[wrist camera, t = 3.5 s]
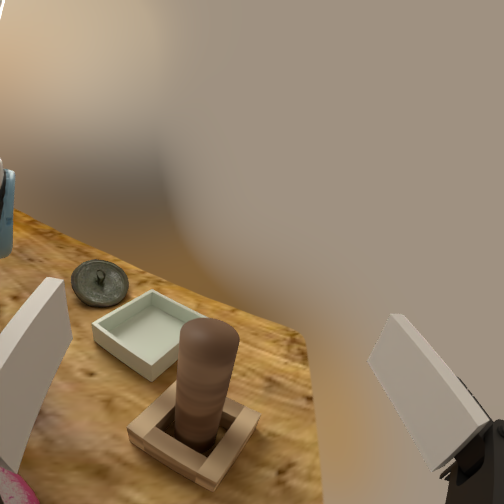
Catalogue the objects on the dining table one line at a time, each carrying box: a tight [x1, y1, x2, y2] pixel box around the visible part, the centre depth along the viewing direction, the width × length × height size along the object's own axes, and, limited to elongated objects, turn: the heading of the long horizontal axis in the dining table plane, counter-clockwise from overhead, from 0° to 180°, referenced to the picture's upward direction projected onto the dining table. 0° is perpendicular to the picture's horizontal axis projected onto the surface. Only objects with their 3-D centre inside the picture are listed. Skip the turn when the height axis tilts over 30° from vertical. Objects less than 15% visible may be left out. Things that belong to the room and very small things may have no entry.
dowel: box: [174, 318, 239, 453], centre depth 24 cm, size 4×4×15 cm
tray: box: [92, 289, 208, 382], centre depth 39 cm, size 13×11×3 cm
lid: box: [71, 259, 129, 307], centre depth 46 cm, size 11×10×5 cm
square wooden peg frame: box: [127, 380, 261, 492], centre depth 26 cm, size 10×10×3 cm
